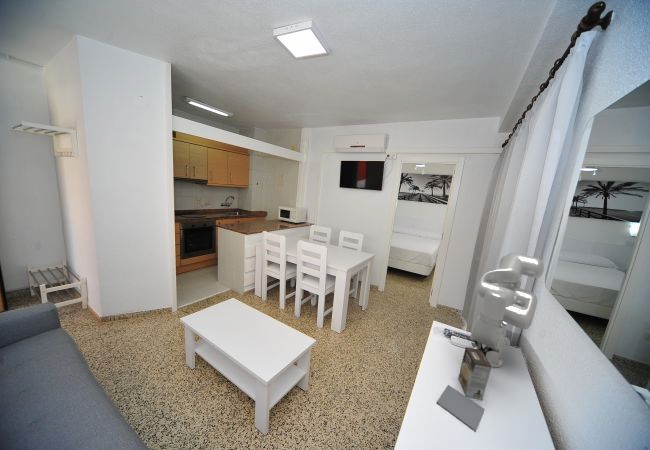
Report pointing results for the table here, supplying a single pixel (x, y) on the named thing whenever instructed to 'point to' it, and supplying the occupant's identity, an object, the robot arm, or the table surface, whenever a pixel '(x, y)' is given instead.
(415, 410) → the table surface
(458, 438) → the table surface
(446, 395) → the mat
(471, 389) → the coffee box
